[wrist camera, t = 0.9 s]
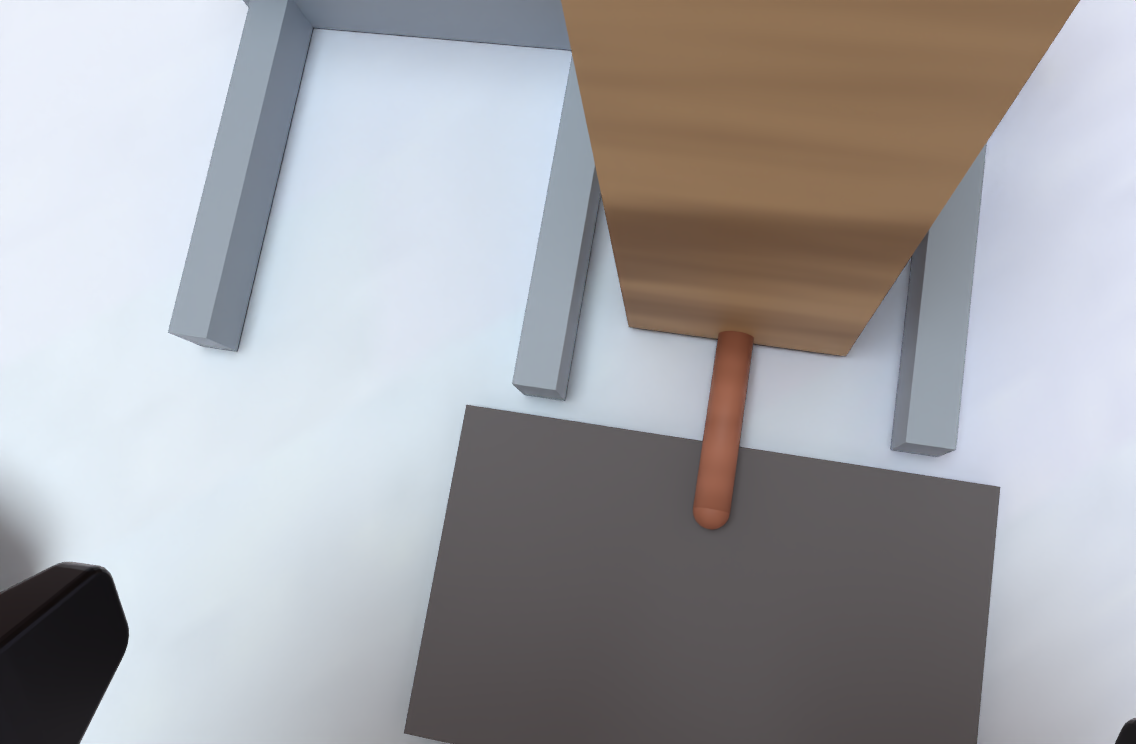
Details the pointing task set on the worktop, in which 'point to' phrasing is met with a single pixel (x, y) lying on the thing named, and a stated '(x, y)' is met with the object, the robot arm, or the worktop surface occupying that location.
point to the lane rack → (535, 18)
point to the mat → (698, 597)
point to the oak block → (784, 162)
